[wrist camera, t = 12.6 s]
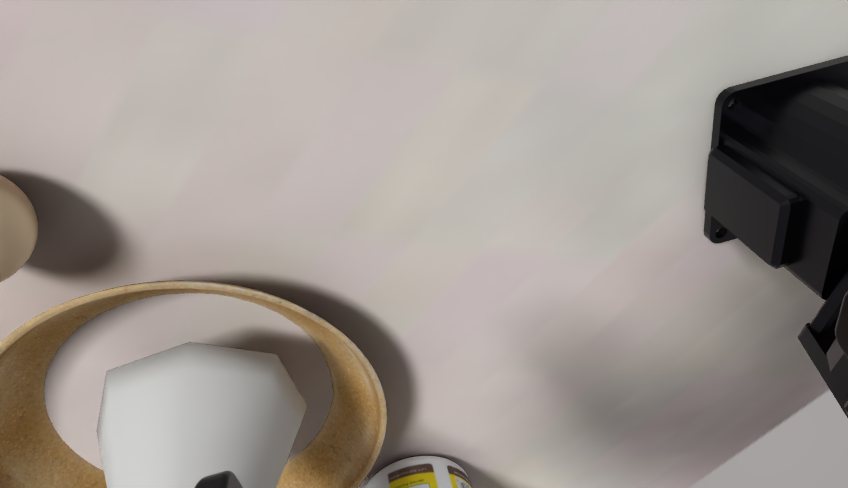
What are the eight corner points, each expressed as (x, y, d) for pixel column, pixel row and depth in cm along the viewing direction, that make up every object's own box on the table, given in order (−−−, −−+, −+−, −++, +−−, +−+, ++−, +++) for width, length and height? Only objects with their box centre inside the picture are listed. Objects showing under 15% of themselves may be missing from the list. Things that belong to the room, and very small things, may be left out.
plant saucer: (145, 543, 30) (135, 598, 27) (-111, 343, 21) (-155, 399, 19) (426, 427, 29) (438, 473, 27) (277, 174, 21) (276, 213, 18)
